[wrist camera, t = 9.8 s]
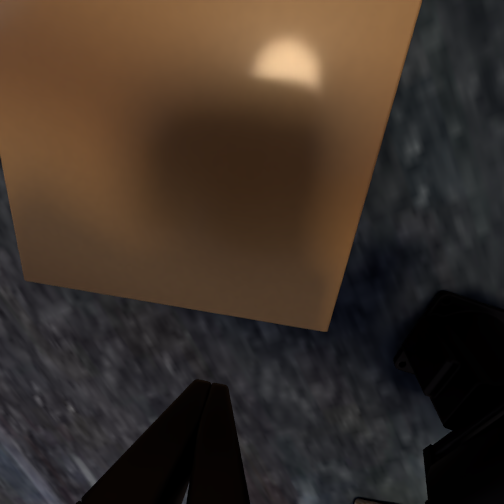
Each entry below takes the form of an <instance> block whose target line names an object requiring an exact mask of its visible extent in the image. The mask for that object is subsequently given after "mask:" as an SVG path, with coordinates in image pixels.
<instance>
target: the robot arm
mask: <svg viewBox="0 0 504 504" xmlns="http://www.w3.org/2000/svg"><path fill="white" fill-rule="evenodd" d="M444 298H448V299H447V300H446V301H442V300H443V299H444ZM393 362H394V364H395V367H396V368H397V369H399V370H402V371H405V372H408V373H411V374H415V376H416V378H417V380H418V382H419V384H420V386H421V388H422V390H423V392H424V394H425V395H426V396H429V397H430V399H431V401H432V403H433V405H434V407H435V410H436V412H437V414H438V416H439V418H440V420H441V422H442V424H443V426H444V427H445V428H447V429H450V430H453V431H452V432H450V433H449V434H447V435H446V436H445V437H443V438H442V439H441V440H439V441H438V442H437V443H435V444H434V445H431V444H430V445H429V446H428V447H426V448H425V449H424V450H423V456H424V465H425V475H426V485H427V495H428V500H426V502H425V504H504V310H502V309H499V308H496V307H493V306H490V305H487V304H484V303H481V302H478V301H475V300H472V299H469V298H466V297H463V296H460V295H457V294H454V293H451V292H448V291H442V292H440V293H438V294H437V295H436V297H435V298H434V300H433V301H432V303H431V304H430V306H429V307H428V309H427V310H426V312H425V313H424V314H423V316H422V317H421V318H420V319H419V320H418V322H417V323H416V325H415V326H414V328H413V329H412V331H411V332H410V334H409V335H408V337H407V338H406V340H405V341H404V343H403V344H402V347H401V349H400V350H399V352H398V353H397V355H396V356H395V358H394V360H393ZM400 362H403V363H400ZM189 481H190V482H189ZM188 484H189V489H188V496H187V503H186V504H250V500H249V495H248V489H247V484H246V479H245V474H244V468H243V463H242V458H241V453H240V447H239V442H238V437H237V431H236V426H235V421H234V416H233V410H232V405H231V400H230V395H229V389H228V387H227V385H223V384H218V383H212V384H211V383H210V382H209V381H204V380H199V379H196V380H194V381H193V382H192V383H191V384H190V385H189V386H188V387H187V388H186V389H185V390H184V391H183V393H182V394H181V395H180V396H179V397H178V398H177V399H176V400H175V401H174V402H173V403H172V404H171V405H170V406H169V407H168V408H167V409H166V410H165V411H164V412H163V413H162V414H161V415H160V417H159V418H158V419H157V420H156V421H155V422H154V423H153V424H152V425H151V426H150V427H149V428H148V429H147V430H146V431H145V432H144V433H143V434H142V435H141V436H140V437H139V438H138V439H137V441H136V442H135V443H134V444H133V445H132V446H131V447H130V448H129V449H128V450H127V451H126V452H125V453H124V454H123V455H122V456H121V457H120V458H119V459H118V460H117V461H116V462H115V463H114V465H113V466H112V467H111V468H110V469H109V470H108V471H107V472H106V473H105V474H104V475H103V476H102V477H101V478H100V479H99V480H98V481H97V482H96V483H95V484H94V485H93V486H92V487H91V489H90V490H89V491H88V492H87V493H86V494H85V495H84V496H83V497H82V503H81V501H78V502H77V503H76V504H182V501H183V498H184V496H185V493H186V490H187V487H188Z"/></svg>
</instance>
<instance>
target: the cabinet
mask: <svg viewBox="0 0 504 504" xmlns="http://www.w3.org/2000/svg"><path fill="white" fill-rule="evenodd" d="M421 3H422V0H0V156H1V162H2V167H3V172H4V177H5V182H6V187H7V193H8V198H9V203H10V208H11V213H12V218H13V223H14V229H15V234H16V239H17V244H18V249H19V254H20V259H21V265H22V270H23V275H24V279H25V280H26V281H30V282H36V283H42V284H48V285H53V286H59V287H65V288H71V289H77V290H83V291H88V292H94V293H100V294H106V295H112V296H118V297H124V298H129V299H135V300H141V301H147V302H153V303H159V304H165V305H170V306H176V307H182V308H188V309H194V310H200V311H205V312H211V313H217V314H223V315H229V316H235V317H241V318H246V319H252V320H258V321H264V322H270V323H276V324H282V325H287V326H293V327H299V328H305V329H311V330H317V331H322V332H327V331H328V328H329V324H330V321H331V317H332V314H333V310H334V307H335V304H336V300H337V297H338V293H339V290H340V286H341V283H342V279H343V276H344V272H345V269H346V265H347V262H348V258H349V255H350V251H351V248H352V244H353V241H354V237H355V234H356V230H357V227H358V223H359V220H360V216H361V213H362V209H363V206H364V202H365V199H366V195H367V192H368V188H369V185H370V181H371V178H372V174H373V171H374V167H375V164H376V160H377V157H378V153H379V150H380V146H381V143H382V139H383V136H384V132H385V129H386V125H387V122H388V118H389V115H390V111H391V108H392V104H393V101H394V97H395V94H396V90H397V87H398V83H399V80H400V77H401V73H402V70H403V66H404V63H405V59H406V56H407V52H408V49H409V45H410V42H411V38H412V35H413V31H414V28H415V24H416V21H417V17H418V14H419V10H420V7H421Z"/></svg>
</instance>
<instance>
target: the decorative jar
mask: <svg viewBox="0 0 504 504" xmlns="http://www.w3.org/2000/svg"><path fill="white" fill-rule="evenodd" d="M354 504H382V503H377V502H373V501H367V500H362V499H356V500H355V503H354Z"/></svg>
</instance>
